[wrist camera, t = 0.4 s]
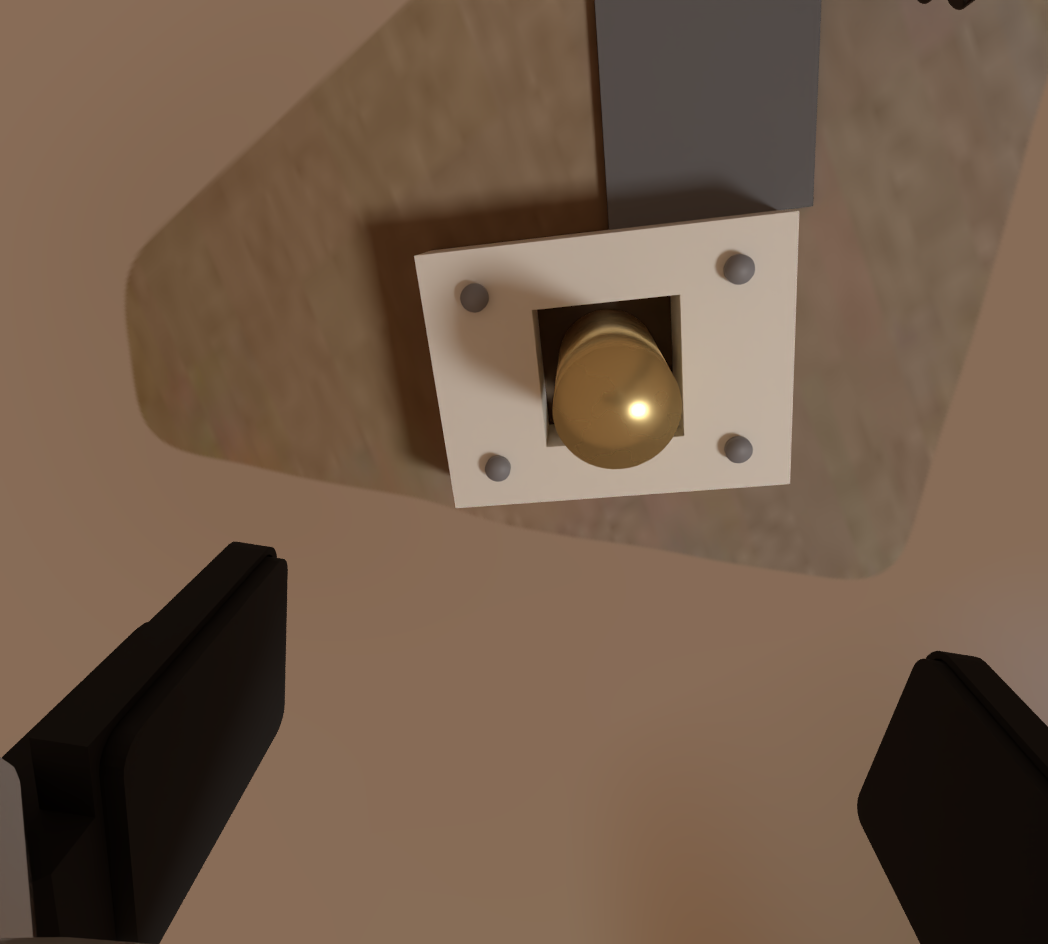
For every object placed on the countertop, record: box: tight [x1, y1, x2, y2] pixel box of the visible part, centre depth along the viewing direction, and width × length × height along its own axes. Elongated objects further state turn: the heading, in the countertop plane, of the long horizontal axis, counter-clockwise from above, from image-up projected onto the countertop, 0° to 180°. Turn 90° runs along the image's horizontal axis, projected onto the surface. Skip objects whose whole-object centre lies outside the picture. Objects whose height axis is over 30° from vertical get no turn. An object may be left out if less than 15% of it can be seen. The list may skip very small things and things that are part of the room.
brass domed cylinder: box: [553, 309, 682, 469], centre depth 29 cm, size 5×5×9 cm
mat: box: [595, 0, 821, 230], centre depth 29 cm, size 9×9×1 cm
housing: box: [414, 210, 799, 508], centre depth 32 cm, size 16×12×4 cm
